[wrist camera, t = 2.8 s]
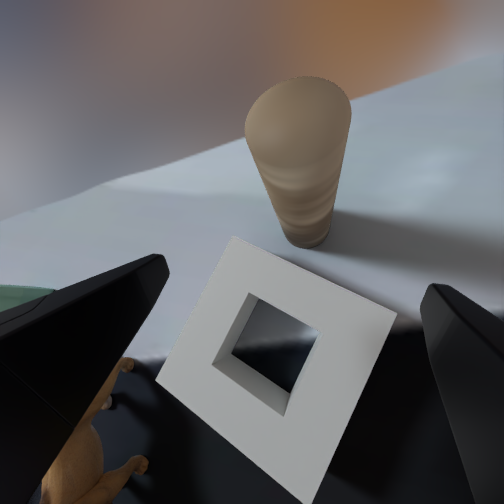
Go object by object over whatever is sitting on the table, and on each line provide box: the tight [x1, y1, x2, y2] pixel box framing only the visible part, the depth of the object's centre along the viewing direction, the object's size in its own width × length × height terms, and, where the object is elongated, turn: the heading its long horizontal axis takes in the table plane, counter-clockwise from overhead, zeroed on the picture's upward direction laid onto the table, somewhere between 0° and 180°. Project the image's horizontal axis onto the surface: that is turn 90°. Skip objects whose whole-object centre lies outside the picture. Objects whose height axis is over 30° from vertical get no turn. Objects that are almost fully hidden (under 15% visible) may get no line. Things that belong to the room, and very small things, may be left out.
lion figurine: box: [39, 357, 149, 504], centre depth 17 cm, size 15×5×9 cm, turn 25°
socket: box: [155, 236, 397, 504], centre depth 17 cm, size 12×12×4 cm
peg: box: [245, 77, 351, 248], centre depth 15 cm, size 4×4×12 cm
